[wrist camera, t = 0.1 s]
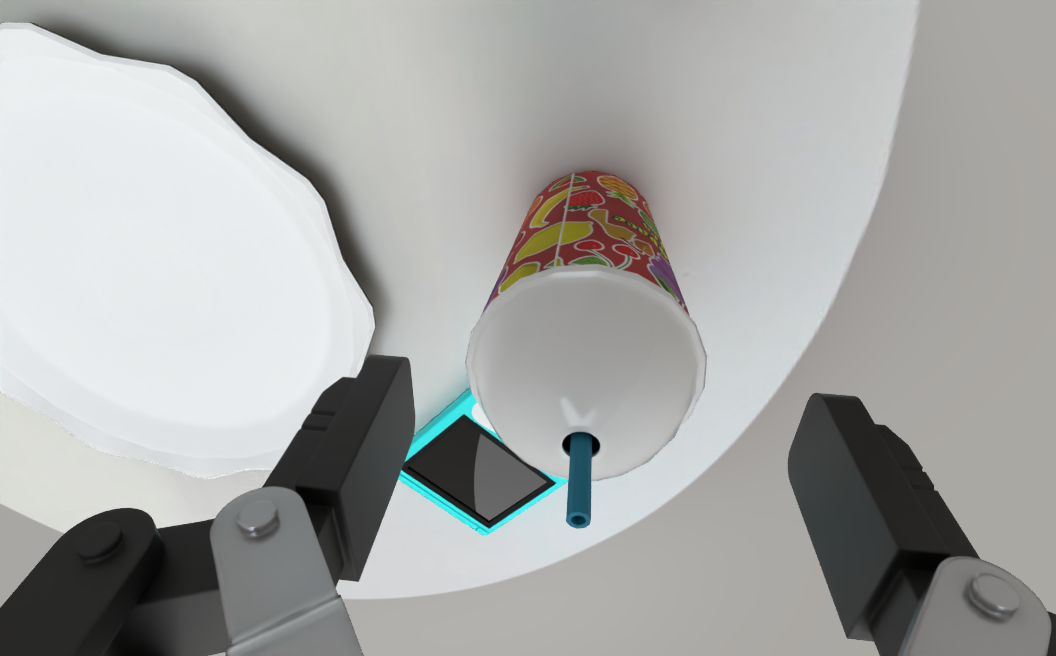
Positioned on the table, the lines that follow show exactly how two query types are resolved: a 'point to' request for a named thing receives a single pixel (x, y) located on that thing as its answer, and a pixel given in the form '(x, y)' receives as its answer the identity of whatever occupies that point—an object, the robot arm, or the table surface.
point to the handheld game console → (472, 469)
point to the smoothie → (586, 339)
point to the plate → (160, 265)
